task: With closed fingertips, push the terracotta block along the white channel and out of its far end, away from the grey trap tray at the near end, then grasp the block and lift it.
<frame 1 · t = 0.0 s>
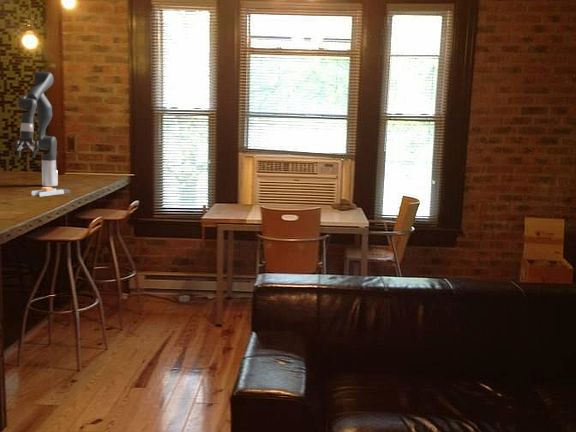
hand: (26, 157, 415), 22 cm above the kitchen counter, tool pointing down, fingers open, 8 cm apart
trap: (62, 192, 426), on the kitchen counter
channel: (47, 194, 416), on the kitchen counter
block: (47, 194, 416), on the kitchen counter
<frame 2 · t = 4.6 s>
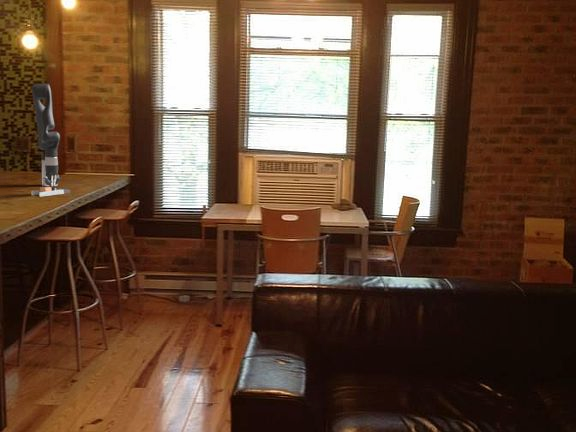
hand: (52, 191, 419), 1 cm above the kitchen counter, tool pointing down, fingers closed
block: (46, 194, 415), on the kitchen counter, touching gripper
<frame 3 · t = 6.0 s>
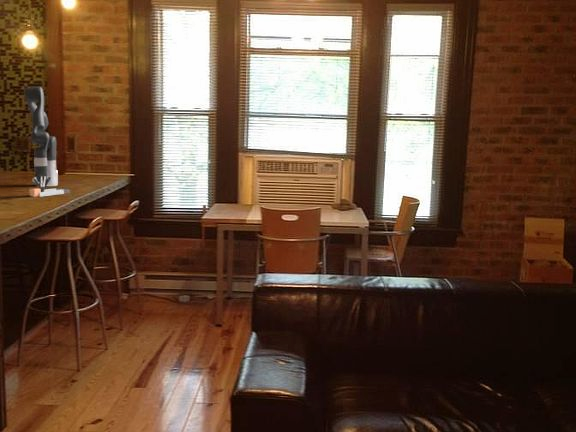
hand: (41, 193, 412), 1 cm above the kitchen counter, tool pointing down, fingers closed
block: (35, 196, 408), on the kitchen counter, touching gripper
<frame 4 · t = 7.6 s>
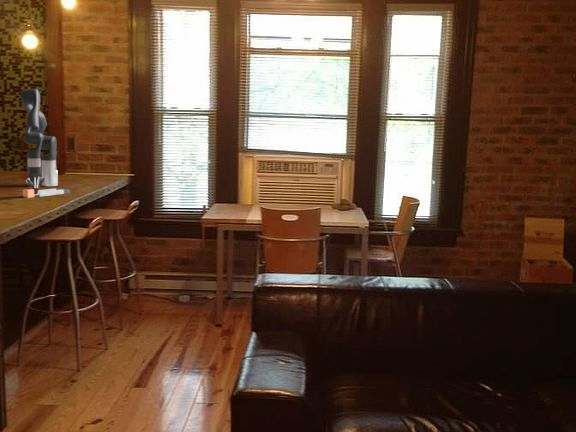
hand: (35, 194, 408), 1 cm above the kitchen counter, tool pointing down, fingers closed
block: (28, 196, 404), on the kitchen counter, touching gripper
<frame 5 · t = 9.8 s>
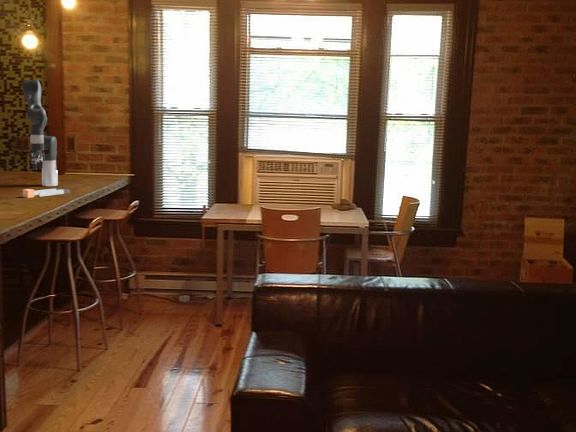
hand: (37, 169, 406), 16 cm above the kitchen counter, tool pointing down, fingers open, 8 cm apart
block: (28, 197, 404), on the kitchen counter
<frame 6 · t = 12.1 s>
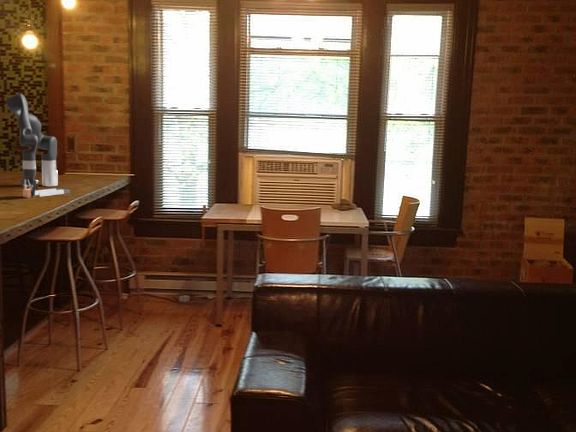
hand: (30, 196, 405), 0 cm above the kitchen counter, tool pointing down, fingers closed on block, 4 cm apart
block: (28, 196, 404), on the kitchen counter, touching gripper
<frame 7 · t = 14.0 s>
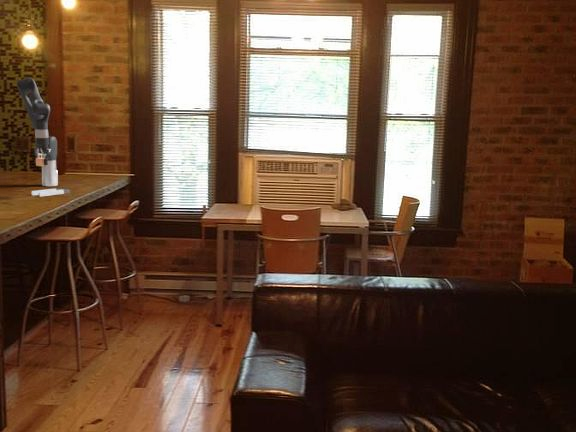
hand: (42, 164, 410), 19 cm above the kitchen counter, tool pointing down, fingers closed on block, 4 cm apart
block: (41, 165, 410), point 18 cm above the kitchen counter, touching gripper
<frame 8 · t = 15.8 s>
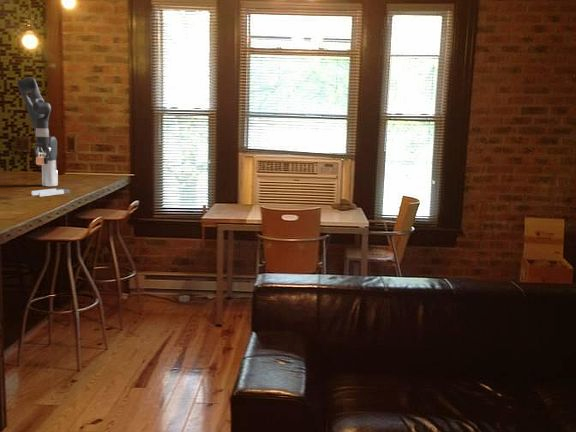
hand: (43, 163, 410), 19 cm above the kitchen counter, tool pointing down, fingers closed on block, 4 cm apart
block: (41, 164, 409), point 19 cm above the kitchen counter, touching gripper
at the end: the gripper is holding block; block point 18.8 cm above the kitchen counter; block moved 19.2 cm from its start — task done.
